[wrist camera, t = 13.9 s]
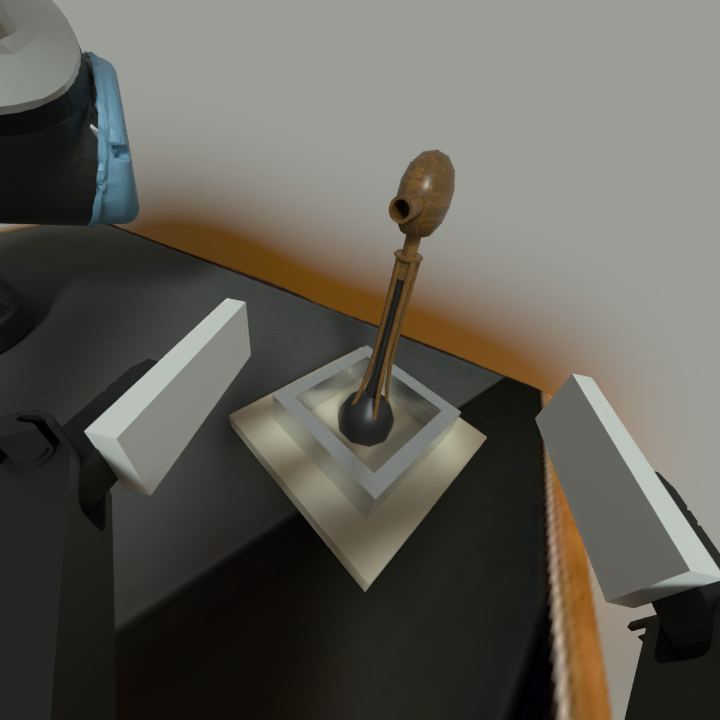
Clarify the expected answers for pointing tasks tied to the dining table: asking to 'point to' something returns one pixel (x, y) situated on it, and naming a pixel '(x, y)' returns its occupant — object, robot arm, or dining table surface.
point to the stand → (406, 504)
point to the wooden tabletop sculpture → (398, 292)
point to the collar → (334, 455)
